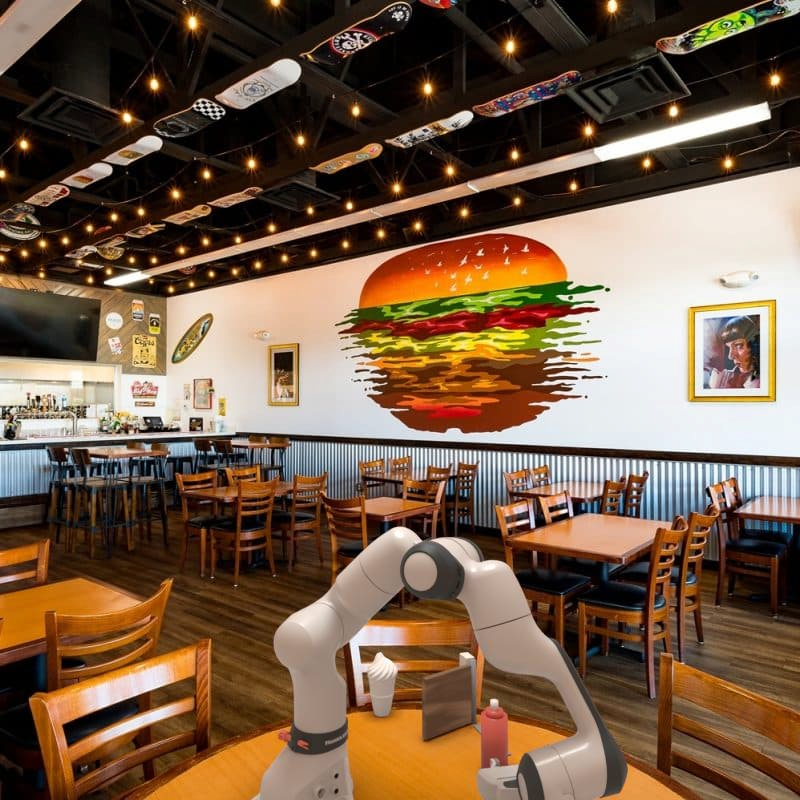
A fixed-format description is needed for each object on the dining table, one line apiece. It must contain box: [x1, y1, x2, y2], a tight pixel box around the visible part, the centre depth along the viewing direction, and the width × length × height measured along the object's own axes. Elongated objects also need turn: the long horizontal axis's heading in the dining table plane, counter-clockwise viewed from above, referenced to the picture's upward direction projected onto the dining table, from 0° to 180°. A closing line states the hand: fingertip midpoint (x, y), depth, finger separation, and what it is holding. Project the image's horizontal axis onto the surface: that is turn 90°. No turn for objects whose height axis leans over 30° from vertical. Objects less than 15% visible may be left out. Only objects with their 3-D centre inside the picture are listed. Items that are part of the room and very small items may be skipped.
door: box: [421, 664, 471, 741], centre depth 154 cm, size 3×15×14 cm, turn 126°
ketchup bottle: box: [480, 698, 509, 769], centre depth 137 cm, size 6×6×15 cm
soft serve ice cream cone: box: [366, 652, 399, 718], centre depth 163 cm, size 8×8×16 cm
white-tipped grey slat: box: [459, 651, 512, 757], centre depth 153 cm, size 2×22×16 cm, turn 21°
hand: (515, 759), depth 125 cm, fingers open, 8 cm apart
